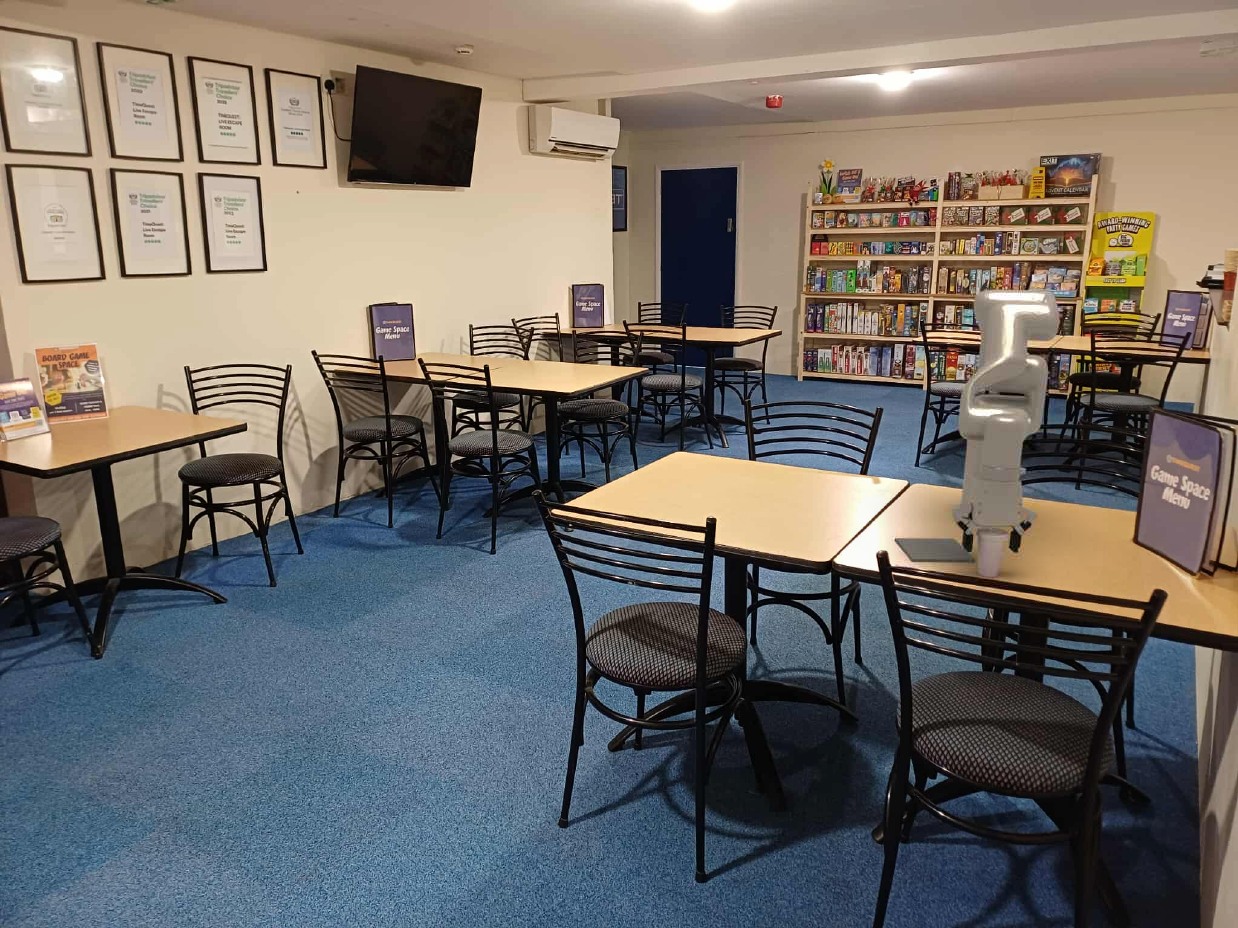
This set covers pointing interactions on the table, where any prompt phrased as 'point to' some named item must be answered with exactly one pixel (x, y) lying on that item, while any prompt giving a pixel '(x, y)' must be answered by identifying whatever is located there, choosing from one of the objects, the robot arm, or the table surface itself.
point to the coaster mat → (934, 550)
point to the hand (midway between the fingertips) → (990, 550)
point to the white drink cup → (990, 549)
